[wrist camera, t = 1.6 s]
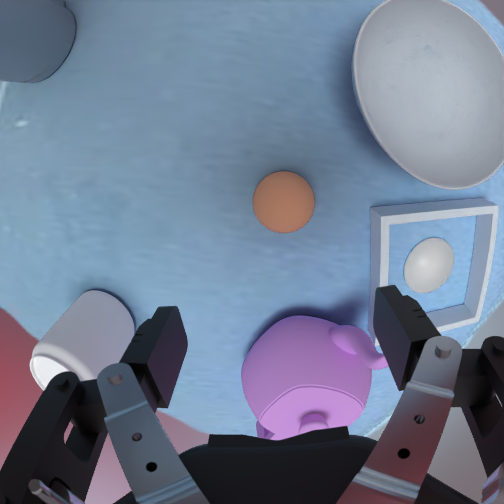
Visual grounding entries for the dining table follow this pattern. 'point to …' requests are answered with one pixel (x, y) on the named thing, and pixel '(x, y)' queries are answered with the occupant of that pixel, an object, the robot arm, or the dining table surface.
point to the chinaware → (431, 91)
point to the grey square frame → (433, 211)
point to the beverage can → (84, 339)
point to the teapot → (308, 376)
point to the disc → (428, 265)
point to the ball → (283, 202)
